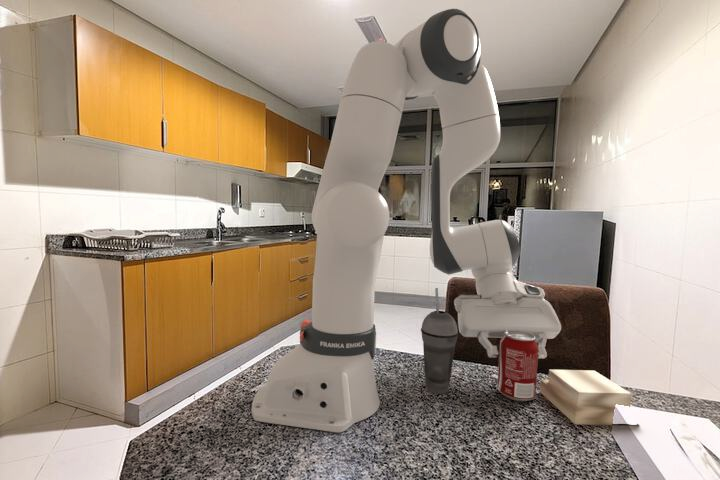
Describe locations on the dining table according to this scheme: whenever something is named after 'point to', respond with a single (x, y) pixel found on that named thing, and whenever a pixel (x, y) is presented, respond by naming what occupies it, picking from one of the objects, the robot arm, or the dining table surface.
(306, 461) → the dining table surface
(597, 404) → the cream stepped square block
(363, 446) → the dining table surface
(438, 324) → the beverage cup
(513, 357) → the soda can
